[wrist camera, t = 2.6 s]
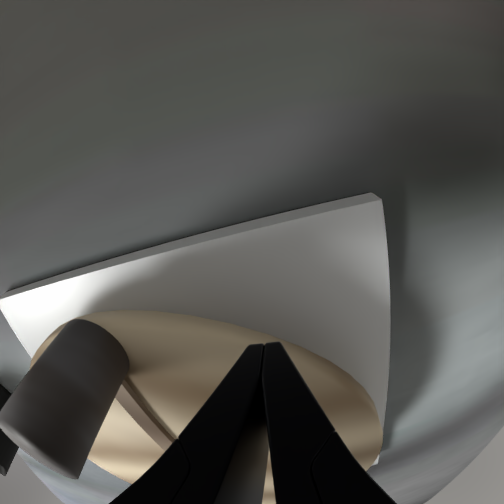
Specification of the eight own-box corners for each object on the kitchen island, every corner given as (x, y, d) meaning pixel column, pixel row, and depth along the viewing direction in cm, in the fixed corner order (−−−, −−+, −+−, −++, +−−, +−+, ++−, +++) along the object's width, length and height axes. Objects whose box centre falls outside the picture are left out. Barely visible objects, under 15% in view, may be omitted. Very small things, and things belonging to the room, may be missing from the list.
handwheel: (367, 465, 18) (379, 542, 11) (148, 475, 21) (132, 536, 14) (361, 220, 10) (491, 396, 3) (2, 307, 13) (-67, 381, 6)
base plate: (375, 453, 19) (377, 463, 18) (149, 467, 23) (146, 476, 22) (371, 192, 11) (381, 199, 10) (5, 291, 15) (-5, 300, 13)
